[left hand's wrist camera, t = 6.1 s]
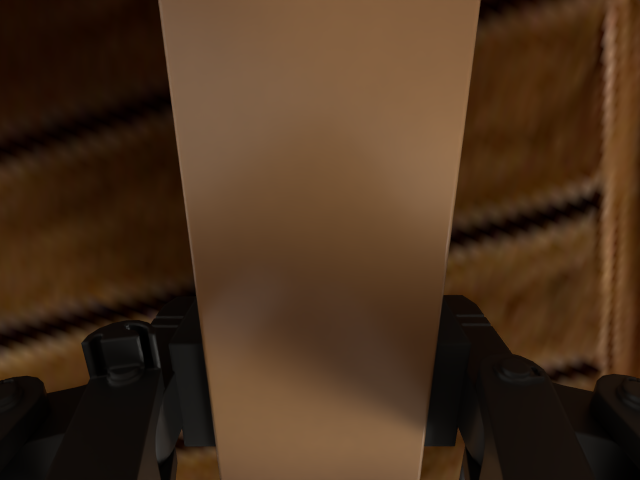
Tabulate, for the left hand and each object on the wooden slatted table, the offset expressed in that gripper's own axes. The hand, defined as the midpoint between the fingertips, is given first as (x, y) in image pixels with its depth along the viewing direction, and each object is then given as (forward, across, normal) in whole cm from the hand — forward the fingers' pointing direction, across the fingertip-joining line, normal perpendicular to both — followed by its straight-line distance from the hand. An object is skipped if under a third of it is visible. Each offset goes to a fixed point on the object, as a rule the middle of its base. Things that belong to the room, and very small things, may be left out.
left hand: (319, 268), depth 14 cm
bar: (0, 0, -20) cm, 20 cm away
